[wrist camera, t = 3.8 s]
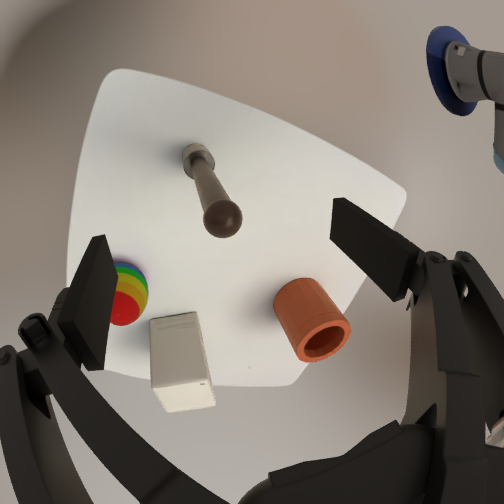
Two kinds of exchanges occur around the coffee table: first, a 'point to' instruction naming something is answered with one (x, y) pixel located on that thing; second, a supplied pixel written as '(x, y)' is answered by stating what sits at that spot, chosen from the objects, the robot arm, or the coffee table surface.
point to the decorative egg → (129, 295)
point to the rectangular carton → (179, 364)
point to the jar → (311, 320)
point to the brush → (211, 193)
